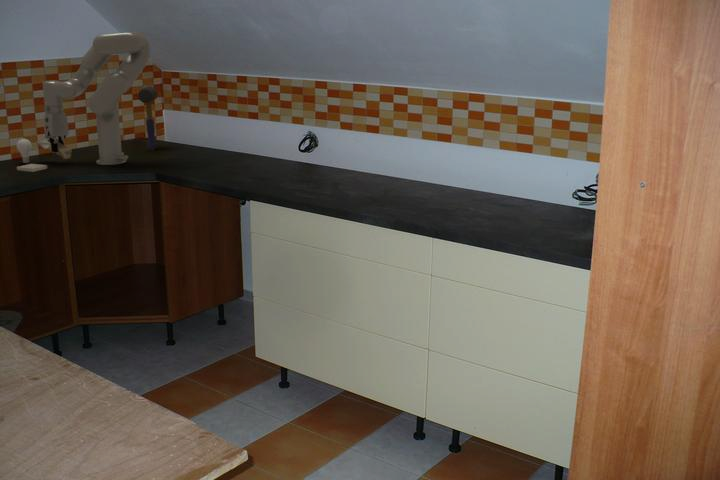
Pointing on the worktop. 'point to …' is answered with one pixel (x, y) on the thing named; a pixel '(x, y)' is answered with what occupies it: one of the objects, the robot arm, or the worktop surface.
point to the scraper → (62, 149)
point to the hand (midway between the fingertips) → (57, 151)
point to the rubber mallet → (149, 112)
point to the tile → (32, 167)
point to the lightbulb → (24, 149)
